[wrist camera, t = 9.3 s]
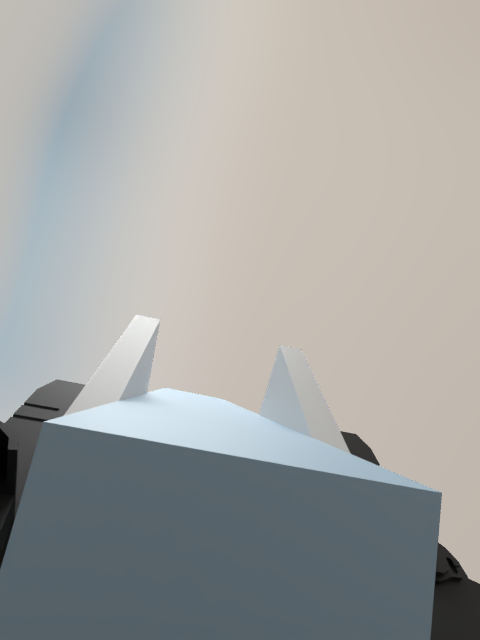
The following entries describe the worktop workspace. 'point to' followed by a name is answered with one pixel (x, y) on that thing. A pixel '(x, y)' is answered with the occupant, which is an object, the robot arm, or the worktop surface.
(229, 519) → the blue-grey block
